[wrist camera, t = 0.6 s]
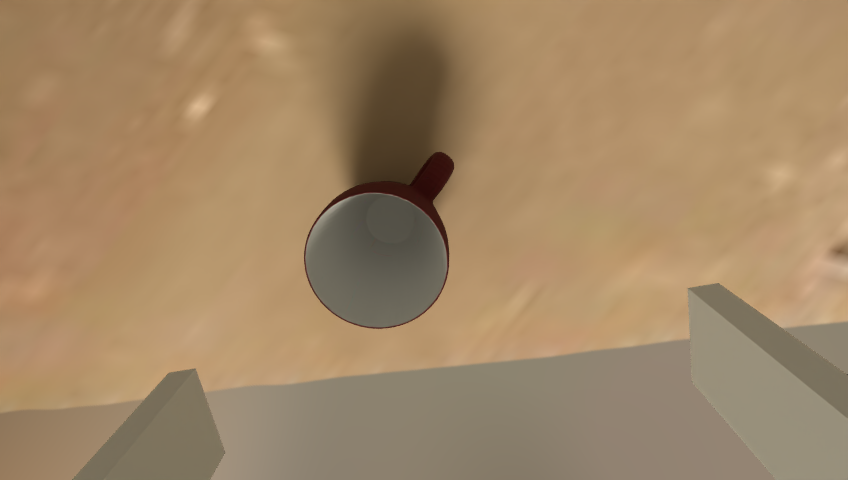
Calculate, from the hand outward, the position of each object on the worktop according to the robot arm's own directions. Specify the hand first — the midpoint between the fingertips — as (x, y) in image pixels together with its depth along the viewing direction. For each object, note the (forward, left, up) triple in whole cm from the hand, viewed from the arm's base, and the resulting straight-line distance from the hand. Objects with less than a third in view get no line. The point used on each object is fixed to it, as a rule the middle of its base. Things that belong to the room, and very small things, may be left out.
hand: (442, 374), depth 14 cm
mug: (-1, -3, -25) cm, 25 cm away
